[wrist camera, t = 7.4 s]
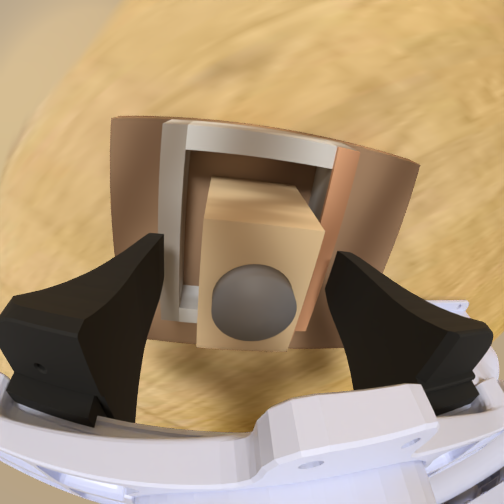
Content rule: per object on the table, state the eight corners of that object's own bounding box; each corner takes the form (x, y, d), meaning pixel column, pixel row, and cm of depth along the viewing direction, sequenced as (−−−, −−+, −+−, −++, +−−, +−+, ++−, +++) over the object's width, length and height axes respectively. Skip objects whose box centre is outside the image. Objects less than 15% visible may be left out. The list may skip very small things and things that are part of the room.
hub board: (409, 159, 15) (443, 177, 12) (342, 336, 22) (355, 369, 19) (120, 116, 12) (91, 123, 9) (130, 324, 19) (119, 360, 16)
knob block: (297, 185, 14) (336, 243, 9) (274, 285, 17) (292, 365, 12) (211, 175, 13) (201, 229, 8) (202, 279, 16) (195, 361, 11)
